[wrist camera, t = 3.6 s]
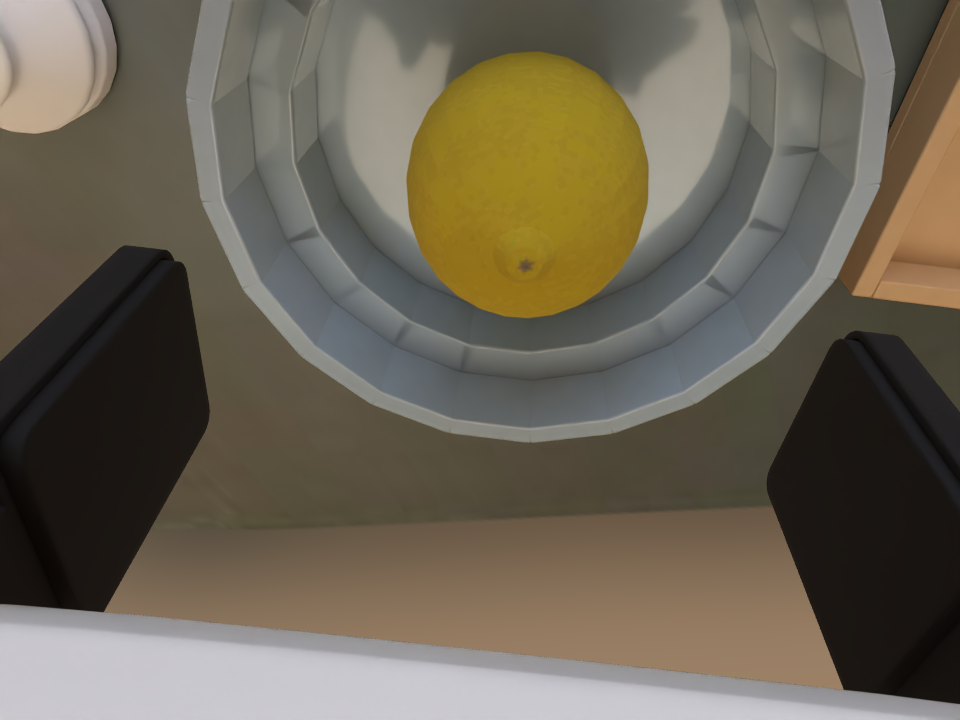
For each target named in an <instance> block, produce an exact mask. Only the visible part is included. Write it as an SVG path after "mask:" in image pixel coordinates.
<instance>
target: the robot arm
mask: <svg viewBox="0 0 960 720" xmlns="http://www.w3.org/2000/svg"><path fill="white" fill-rule="evenodd" d="M209 413H210V409H209V401H208V395H207V389H206V383H205V377H204V372H203V366H202V360H201V354H200V348H199V342H198V336H197V330H196V324H195V318H194V313H193V307H192V301H191V295H190V289H189V283H188V277H187V272H186V268H185V266H184V264H183V263H181V262H177V261H174V258H173V256H172V255H171V253H170V252H169V251H167V250H162V249H153V248H144V247H136V246H123V247H121V248H119V249H118V250H117V251H116V252H115V253H114V254H113V255H112V256H111V257H110V258H109V259H108V260H107V261H106V262H104V263H103V264H102V265H101V266H100V267H99V268H98V269H97V270H96V271H95V272H94V273H93V274H92V275H91V276H90V277H89V278H88V279H87V280H86V281H85V282H83V283H82V284H81V285H80V286H79V287H78V288H77V289H76V290H75V291H74V292H73V293H72V294H71V295H70V296H69V297H68V298H67V299H66V300H65V301H63V302H62V303H61V304H60V305H59V306H58V307H57V308H56V309H55V310H54V311H53V312H52V313H51V314H50V315H49V316H48V317H47V318H46V319H45V320H43V321H42V322H41V323H40V324H39V325H38V326H37V327H36V328H35V329H34V330H33V331H32V332H31V333H30V334H29V335H28V336H27V337H26V338H25V339H24V340H22V341H21V342H20V343H19V344H18V345H17V346H16V347H15V348H14V349H13V350H12V351H11V352H10V353H9V354H8V355H7V356H6V357H5V358H4V359H2V360H1V361H0V720H960V412H959V411H958V409H957V408H956V407H955V406H954V404H953V403H952V402H951V401H950V399H949V398H948V397H947V396H946V394H945V393H944V392H943V390H942V389H941V388H940V387H939V385H938V384H937V383H936V382H935V380H934V379H933V378H932V377H931V375H930V374H929V373H928V372H927V370H926V369H925V368H924V367H923V365H922V364H921V363H920V362H919V360H918V359H917V358H916V357H915V355H914V354H913V353H912V351H911V350H910V349H909V348H908V346H907V345H906V344H905V343H904V341H903V340H902V339H901V338H899V337H898V336H894V335H888V334H879V333H871V332H862V331H854V332H851V333H849V334H848V335H847V336H846V337H845V338H844V339H839V340H836V341H835V342H834V343H833V344H832V346H831V347H830V349H829V351H828V353H827V355H826V357H825V359H824V361H823V363H822V365H821V367H820V369H819V371H818V373H817V375H816V377H815V379H814V381H813V383H812V385H811V387H810V389H809V391H808V393H807V395H806V397H805V399H804V401H803V403H802V405H801V407H800V409H799V411H798V413H797V415H796V417H795V419H794V421H793V423H792V425H791V427H790V429H789V431H788V433H787V435H786V437H785V439H784V441H783V443H782V445H781V447H780V449H779V451H778V453H777V455H776V457H775V459H774V461H773V463H772V465H771V467H770V470H769V472H768V476H767V491H768V495H769V498H770V500H771V503H772V505H773V508H774V511H775V513H776V516H777V518H778V521H779V523H780V526H781V528H782V531H783V534H784V536H785V539H786V541H787V544H788V547H789V549H790V552H791V554H792V557H793V559H794V562H795V565H796V567H797V570H798V573H799V575H800V578H801V580H802V583H803V585H804V588H805V591H806V593H807V596H808V598H809V601H810V603H811V606H812V609H813V611H814V614H815V616H816V619H817V622H818V624H819V626H820V629H821V632H822V634H823V637H824V640H825V642H826V645H827V647H828V650H829V652H830V655H831V658H832V660H833V663H834V665H835V668H836V671H837V673H838V676H839V678H840V681H841V683H842V686H843V689H844V690H840V689H831V688H822V687H814V686H805V685H796V684H786V683H778V682H769V681H759V680H751V679H742V678H732V677H724V676H715V675H707V674H698V673H688V672H679V671H671V670H662V669H653V668H643V667H634V666H625V665H616V664H606V663H597V662H587V661H578V660H569V659H559V658H551V657H550V658H549V657H541V656H531V655H522V654H513V653H504V652H493V651H484V650H475V649H466V648H456V647H447V646H438V645H428V644H418V643H409V642H400V641H390V640H380V639H370V638H361V637H351V636H341V635H331V634H322V633H312V632H302V631H291V630H281V629H272V628H262V627H253V626H252V627H251V626H242V625H233V624H223V623H212V622H203V621H193V620H184V619H173V618H163V617H152V616H141V615H129V614H117V613H105V612H104V611H105V609H106V607H107V605H108V603H109V602H110V600H111V598H112V596H113V594H114V593H115V591H116V589H117V587H118V586H119V584H120V582H121V580H122V578H123V577H124V575H125V573H126V571H127V569H128V568H129V566H130V564H131V562H132V560H133V559H134V557H135V555H136V554H137V552H138V550H139V548H140V546H141V545H142V543H143V541H144V539H145V538H146V536H147V534H148V532H149V530H150V529H151V527H152V525H153V523H154V521H155V520H156V518H157V516H158V514H159V513H160V511H161V509H162V507H163V505H164V504H165V502H166V500H167V498H168V497H169V495H170V493H171V491H172V489H173V488H174V486H175V484H176V482H177V481H178V479H179V477H180V475H181V473H182V472H183V470H184V468H185V466H186V464H187V463H188V461H189V459H190V457H191V456H192V454H193V452H194V450H195V448H196V447H197V445H198V443H199V441H200V440H201V438H202V436H203V434H204V432H205V430H206V428H207V425H208V421H209Z"/></svg>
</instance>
